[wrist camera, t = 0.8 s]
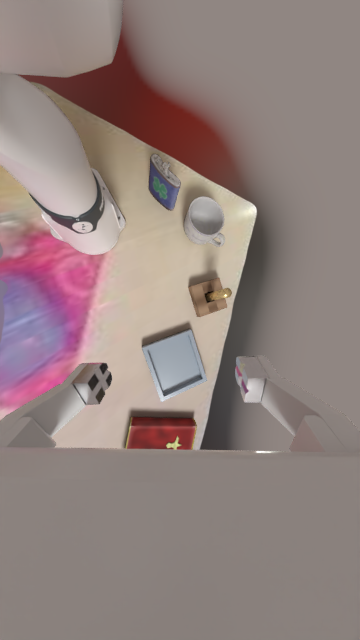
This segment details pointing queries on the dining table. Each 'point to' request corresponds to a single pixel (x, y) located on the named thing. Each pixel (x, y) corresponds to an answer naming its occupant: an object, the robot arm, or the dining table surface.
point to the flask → (163, 182)
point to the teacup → (204, 221)
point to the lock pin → (218, 294)
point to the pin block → (200, 300)
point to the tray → (174, 364)
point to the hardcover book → (161, 433)
